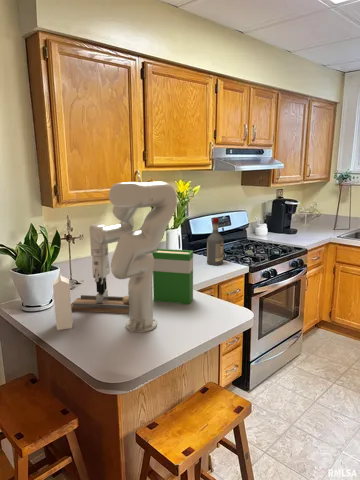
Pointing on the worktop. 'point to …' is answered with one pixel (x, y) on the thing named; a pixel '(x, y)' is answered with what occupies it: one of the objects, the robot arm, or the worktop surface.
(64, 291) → the milk
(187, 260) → the hardback book
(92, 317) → the worktop surface
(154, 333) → the worktop surface
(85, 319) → the worktop surface
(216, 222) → the liquor
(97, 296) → the press jaw
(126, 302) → the walnut
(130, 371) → the worktop surface
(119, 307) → the press base
